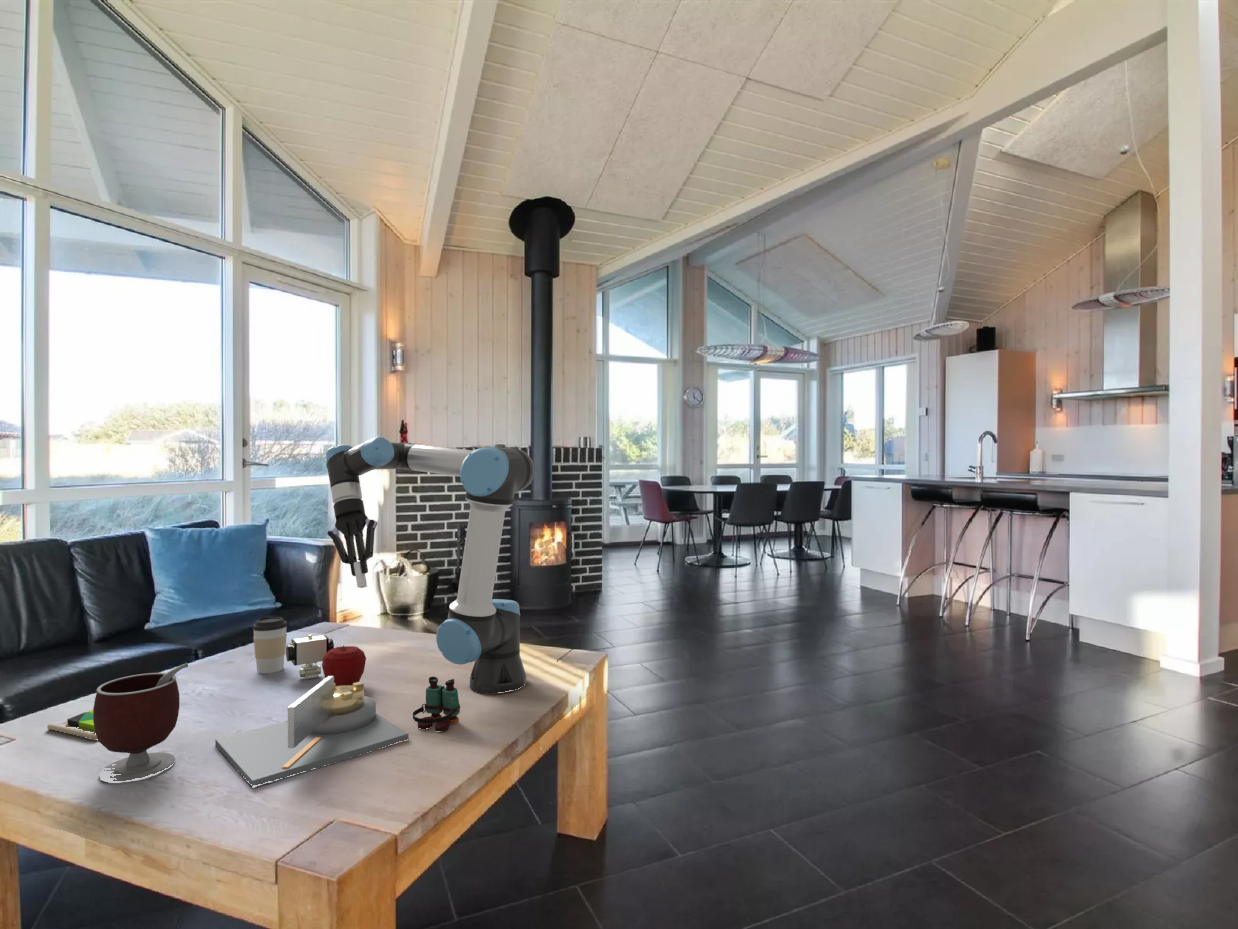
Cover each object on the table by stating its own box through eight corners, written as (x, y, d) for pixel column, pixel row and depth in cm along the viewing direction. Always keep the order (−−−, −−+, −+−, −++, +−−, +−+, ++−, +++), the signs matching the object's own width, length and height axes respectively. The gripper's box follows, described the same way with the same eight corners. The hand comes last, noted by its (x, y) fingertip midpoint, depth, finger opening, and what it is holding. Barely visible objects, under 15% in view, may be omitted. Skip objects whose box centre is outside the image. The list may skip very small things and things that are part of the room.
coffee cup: (294, 668, 199) (293, 617, 198) (263, 676, 191) (263, 623, 191) (276, 663, 203) (276, 613, 203) (246, 671, 196) (245, 619, 196)
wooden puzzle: (44, 733, 153) (44, 717, 153) (130, 705, 171) (130, 691, 171) (94, 745, 147) (94, 728, 147) (178, 714, 164) (178, 699, 164)
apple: (330, 698, 173) (329, 653, 173) (316, 688, 181) (315, 644, 181) (372, 688, 181) (372, 645, 181) (357, 679, 189) (357, 637, 189)
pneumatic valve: (334, 675, 192) (334, 633, 191) (288, 683, 185) (288, 639, 185) (330, 670, 196) (329, 629, 196) (285, 678, 189) (285, 635, 189)
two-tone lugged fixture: (324, 698, 160) (324, 663, 160) (371, 697, 161) (371, 663, 160) (262, 749, 132) (262, 707, 132) (319, 749, 132) (319, 707, 132)
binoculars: (405, 690, 151) (431, 672, 160) (408, 735, 152) (434, 715, 162) (439, 694, 148) (464, 676, 158) (442, 740, 149) (466, 719, 159)
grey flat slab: (358, 708, 166) (358, 690, 166) (408, 740, 148) (408, 719, 148) (215, 746, 145) (215, 725, 145) (252, 788, 126) (252, 764, 126)
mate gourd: (83, 791, 125) (82, 683, 125) (105, 761, 138) (104, 662, 138) (182, 775, 131) (181, 672, 131) (194, 747, 144) (194, 653, 144)
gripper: (376, 498, 187) (391, 581, 181) (330, 510, 187) (344, 594, 181) (366, 492, 180) (381, 578, 174) (318, 505, 179) (331, 592, 173)
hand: (362, 586), depth 177 cm, fingers closed
